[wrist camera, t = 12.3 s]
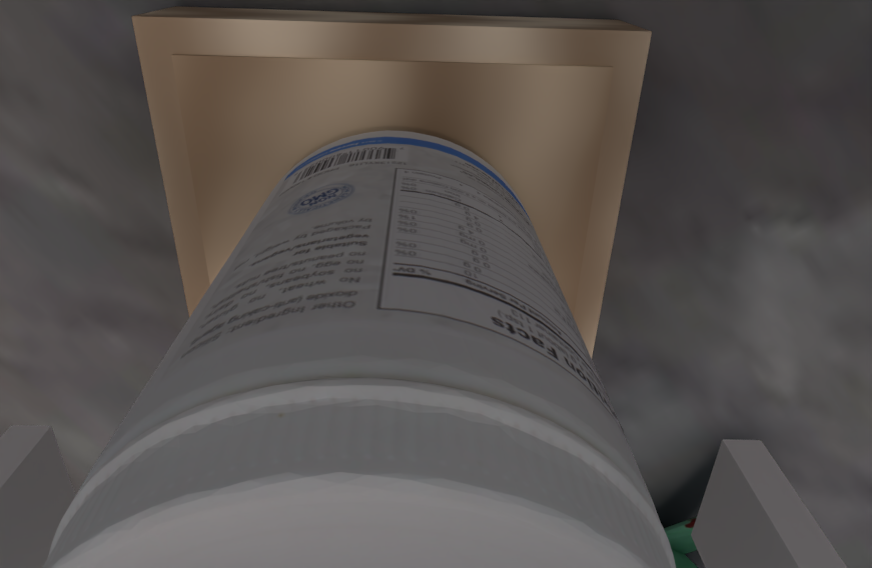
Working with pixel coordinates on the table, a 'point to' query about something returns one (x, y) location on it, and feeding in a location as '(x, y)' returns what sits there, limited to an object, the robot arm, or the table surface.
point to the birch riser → (393, 116)
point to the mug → (682, 542)
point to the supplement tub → (373, 393)
